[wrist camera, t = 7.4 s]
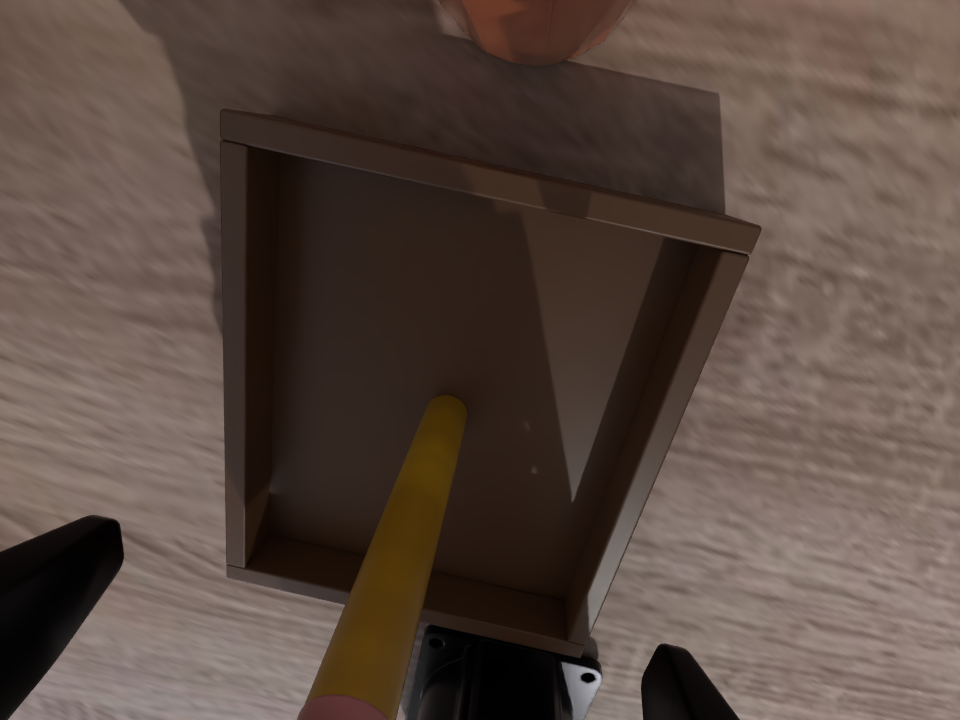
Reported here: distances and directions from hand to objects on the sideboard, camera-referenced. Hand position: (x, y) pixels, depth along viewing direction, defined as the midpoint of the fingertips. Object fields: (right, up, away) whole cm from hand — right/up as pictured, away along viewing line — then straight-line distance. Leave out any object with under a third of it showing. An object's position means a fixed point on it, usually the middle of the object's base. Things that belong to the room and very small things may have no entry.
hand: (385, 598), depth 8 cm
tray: (+1, +3, +6) cm, 7 cm away
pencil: (+1, +2, +6) cm, 6 cm away
